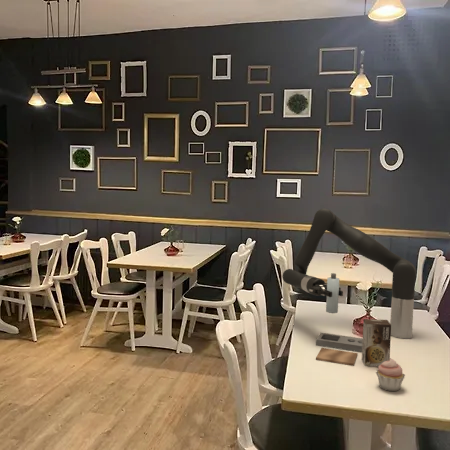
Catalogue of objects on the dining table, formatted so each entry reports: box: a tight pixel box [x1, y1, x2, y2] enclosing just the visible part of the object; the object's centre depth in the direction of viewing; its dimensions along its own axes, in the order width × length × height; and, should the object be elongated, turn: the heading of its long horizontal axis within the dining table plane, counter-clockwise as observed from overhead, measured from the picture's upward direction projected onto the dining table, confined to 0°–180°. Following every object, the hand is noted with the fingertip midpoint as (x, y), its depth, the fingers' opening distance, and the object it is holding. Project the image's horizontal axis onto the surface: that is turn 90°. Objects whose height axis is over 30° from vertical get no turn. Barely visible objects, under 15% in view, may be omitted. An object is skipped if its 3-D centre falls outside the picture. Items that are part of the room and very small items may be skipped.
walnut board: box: [315, 347, 359, 367], centre depth 183 cm, size 14×12×1 cm
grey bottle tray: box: [315, 332, 363, 353], centre depth 197 cm, size 21×10×3 cm, turn 68°
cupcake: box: [375, 357, 406, 392], centre depth 157 cm, size 9×9×10 cm
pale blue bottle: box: [325, 272, 340, 314], centre depth 197 cm, size 5×5×16 cm
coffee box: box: [361, 318, 392, 367], centre depth 177 cm, size 9×6×16 cm
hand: (336, 294), depth 194 cm, fingers closed on pale blue bottle, 4 cm apart
